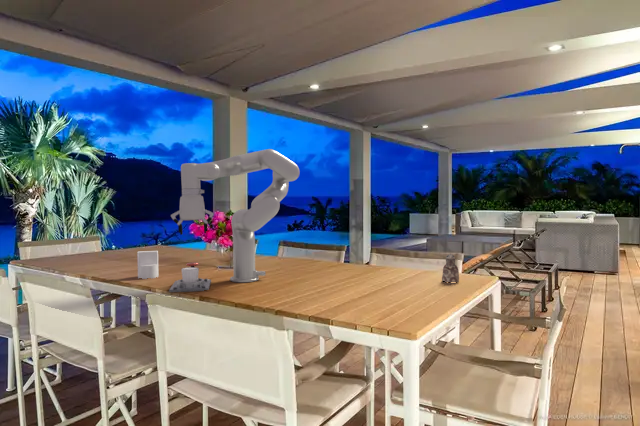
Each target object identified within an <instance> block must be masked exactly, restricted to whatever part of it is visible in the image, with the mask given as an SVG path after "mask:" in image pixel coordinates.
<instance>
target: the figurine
mask: <svg viewBox="0 0 640 426" xmlns="http://www.w3.org/2000/svg"><path fill="white" fill-rule="evenodd" d="M459 273H460V272H459V267H458V266H457V264H456V257H455V255H454V254H453V253H449V254H447V255H446V256H445V265H444V266H443V269H442V275H441V282H442V281H445V282H460V274H459ZM445 282H444V283H445Z"/></svg>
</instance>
